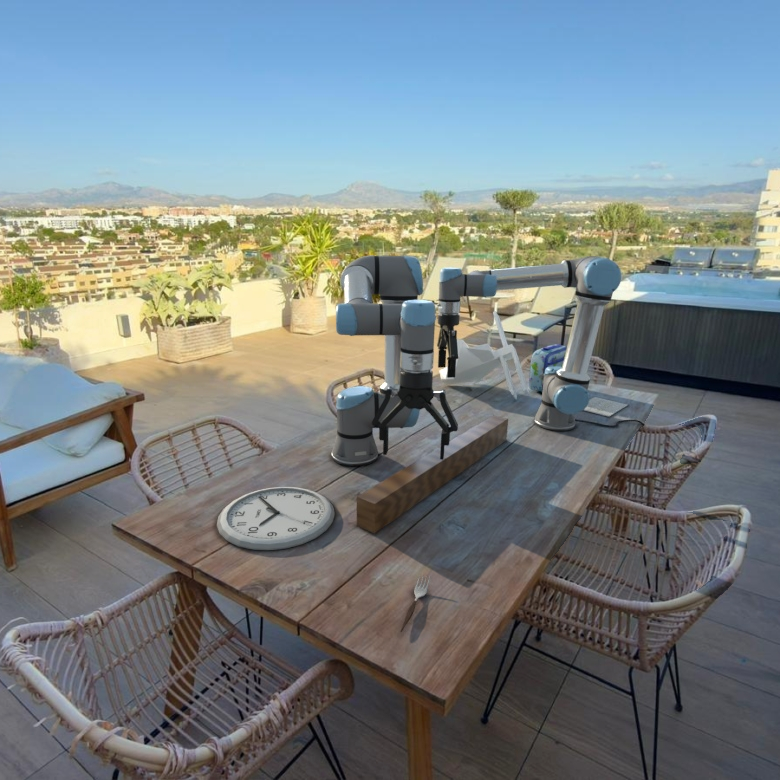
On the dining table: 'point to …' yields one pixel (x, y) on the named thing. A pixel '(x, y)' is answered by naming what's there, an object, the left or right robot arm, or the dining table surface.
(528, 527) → the dining table surface
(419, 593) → the fork
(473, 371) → the white plastic object
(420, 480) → the post
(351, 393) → the left robot arm
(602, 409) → the invitation card
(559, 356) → the lunch box
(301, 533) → the wall clock
